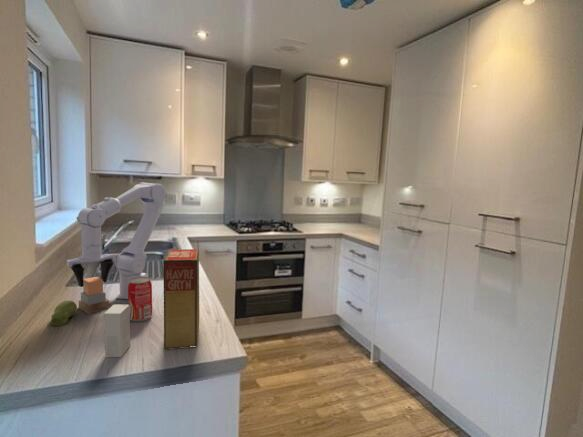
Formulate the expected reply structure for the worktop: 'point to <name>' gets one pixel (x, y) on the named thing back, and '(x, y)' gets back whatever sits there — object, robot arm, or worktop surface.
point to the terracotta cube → (93, 285)
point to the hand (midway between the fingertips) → (92, 283)
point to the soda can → (140, 298)
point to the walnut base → (93, 306)
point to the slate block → (93, 298)
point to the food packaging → (181, 298)
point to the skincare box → (117, 330)
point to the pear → (63, 312)
